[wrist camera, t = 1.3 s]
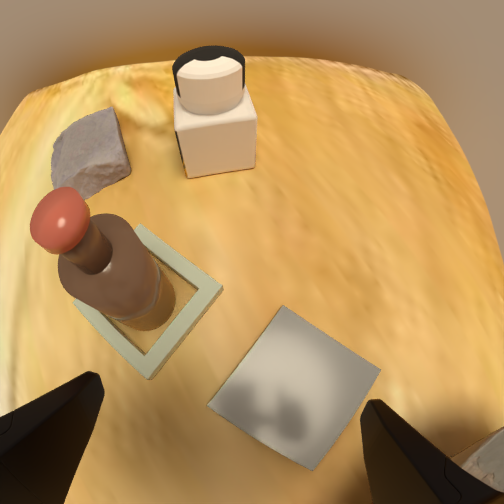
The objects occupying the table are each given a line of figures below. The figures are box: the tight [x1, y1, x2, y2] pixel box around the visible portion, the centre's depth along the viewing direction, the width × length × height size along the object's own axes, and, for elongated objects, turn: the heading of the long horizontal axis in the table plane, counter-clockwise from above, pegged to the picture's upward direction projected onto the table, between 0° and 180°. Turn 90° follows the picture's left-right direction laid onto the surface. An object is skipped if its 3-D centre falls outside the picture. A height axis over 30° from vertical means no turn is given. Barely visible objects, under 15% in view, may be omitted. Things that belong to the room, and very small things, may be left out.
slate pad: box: [207, 305, 381, 471], centre depth 20 cm, size 10×10×1 cm
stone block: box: [51, 107, 131, 200], centre depth 29 cm, size 12×5×10 cm
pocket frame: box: [73, 223, 223, 380], centre depth 23 cm, size 10×10×1 cm
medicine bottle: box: [172, 46, 257, 178], centre depth 25 cm, size 7×7×12 cm
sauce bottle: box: [30, 187, 175, 331], centre depth 17 cm, size 5×5×14 cm
